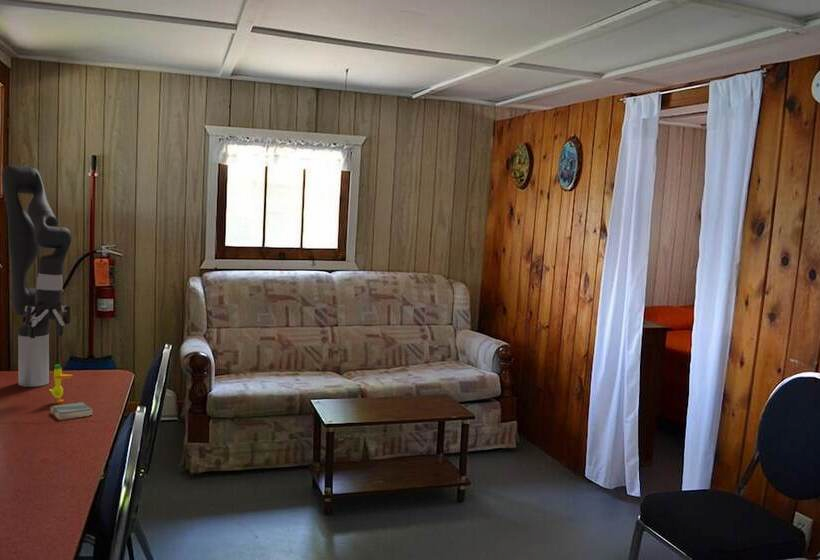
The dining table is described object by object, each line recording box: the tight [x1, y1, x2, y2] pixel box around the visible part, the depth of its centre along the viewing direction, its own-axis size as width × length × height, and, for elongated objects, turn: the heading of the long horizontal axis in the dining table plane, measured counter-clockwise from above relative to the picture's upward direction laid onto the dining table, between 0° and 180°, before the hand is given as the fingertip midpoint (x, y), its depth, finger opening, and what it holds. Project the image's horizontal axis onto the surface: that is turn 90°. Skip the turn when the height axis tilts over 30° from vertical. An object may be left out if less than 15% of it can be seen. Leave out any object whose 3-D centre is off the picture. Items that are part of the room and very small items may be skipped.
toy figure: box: [48, 363, 73, 404], centre depth 221 cm, size 7×4×12 cm, turn 110°
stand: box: [50, 401, 93, 421], centre depth 209 cm, size 9×9×2 cm
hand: (45, 337), depth 228 cm, fingers open, 8 cm apart
